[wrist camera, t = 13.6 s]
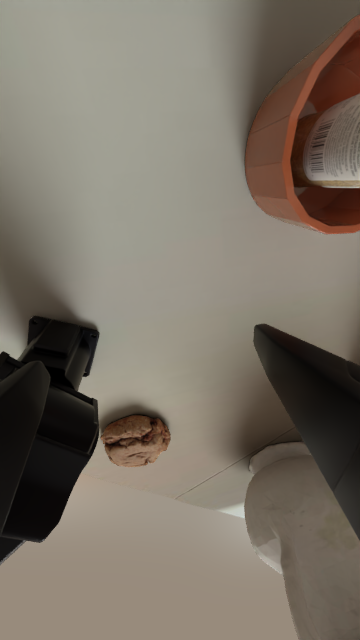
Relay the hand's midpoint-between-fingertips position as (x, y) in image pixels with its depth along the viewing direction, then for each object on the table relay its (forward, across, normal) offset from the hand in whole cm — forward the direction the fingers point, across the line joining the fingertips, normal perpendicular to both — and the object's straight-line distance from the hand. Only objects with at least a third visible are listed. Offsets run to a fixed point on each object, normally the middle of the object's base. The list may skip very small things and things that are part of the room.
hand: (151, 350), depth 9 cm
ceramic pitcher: (+13, -16, +40) cm, 45 cm away
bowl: (+13, -14, -7) cm, 20 cm away
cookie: (+13, +7, +26) cm, 30 cm away
